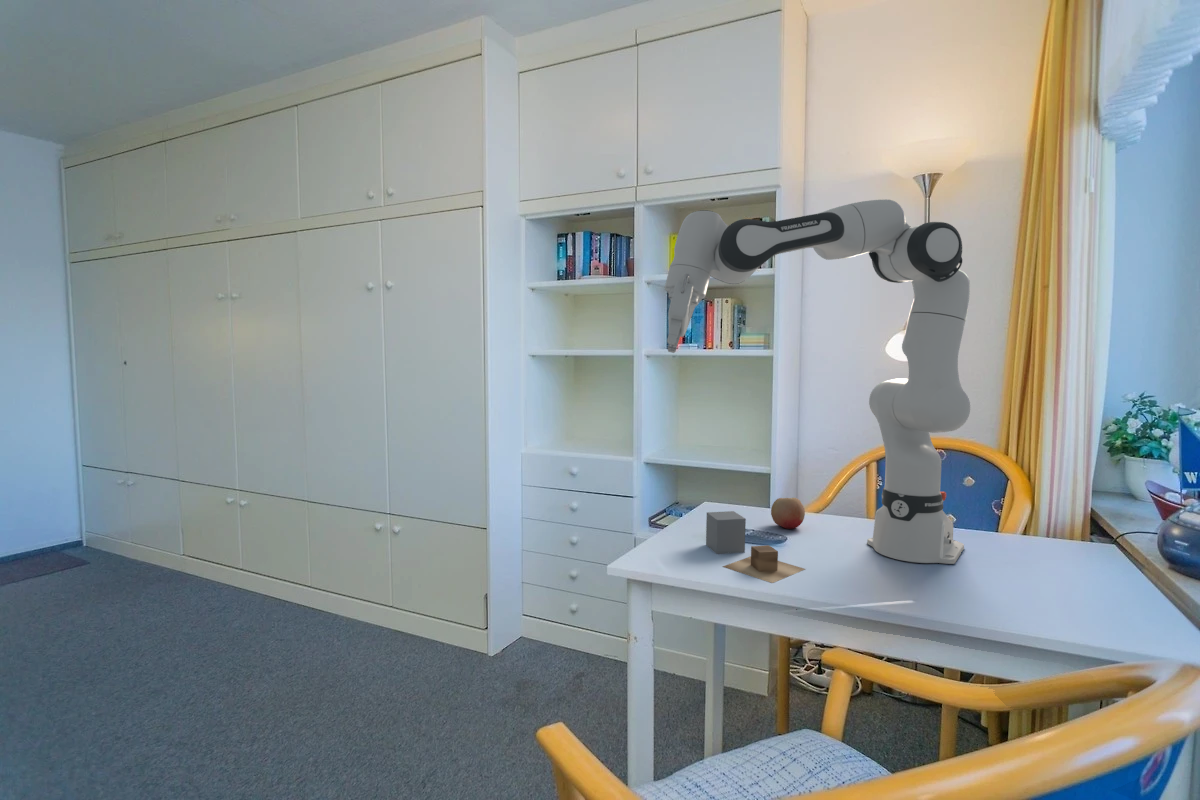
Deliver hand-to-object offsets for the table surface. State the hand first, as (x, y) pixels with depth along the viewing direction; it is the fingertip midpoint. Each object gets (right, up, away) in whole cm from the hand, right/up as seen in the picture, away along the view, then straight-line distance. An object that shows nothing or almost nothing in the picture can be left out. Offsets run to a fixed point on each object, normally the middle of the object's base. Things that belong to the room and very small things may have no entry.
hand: (671, 347), depth 131 cm
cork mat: (+19, -46, -3) cm, 50 cm away
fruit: (+33, -44, +28) cm, 62 cm away
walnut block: (+19, -46, -3) cm, 49 cm away
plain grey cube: (+13, -45, +10) cm, 48 cm away
